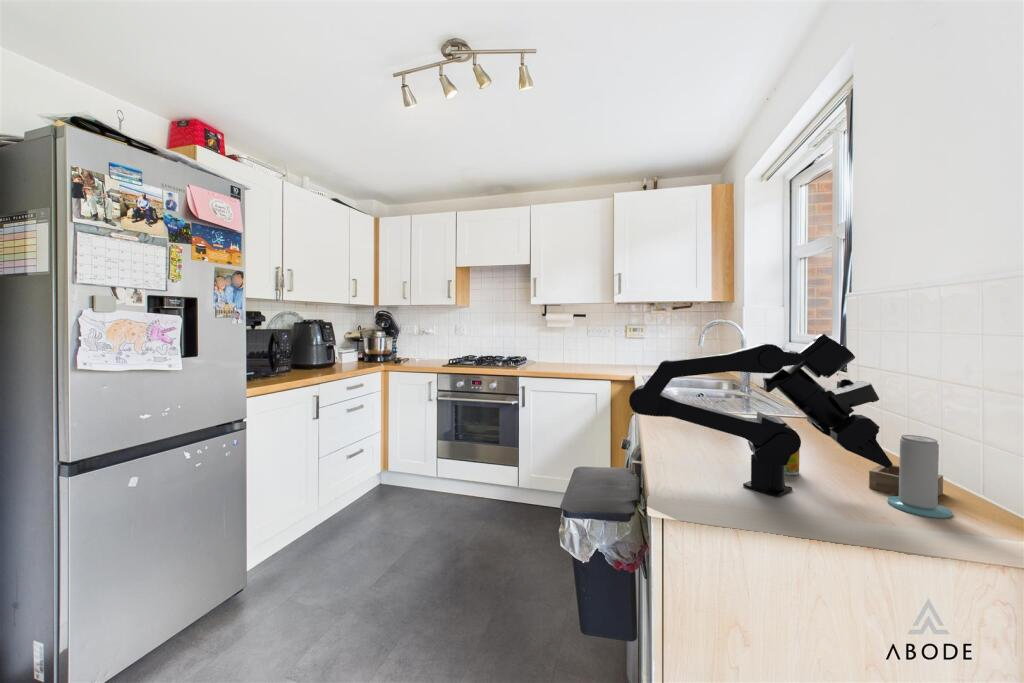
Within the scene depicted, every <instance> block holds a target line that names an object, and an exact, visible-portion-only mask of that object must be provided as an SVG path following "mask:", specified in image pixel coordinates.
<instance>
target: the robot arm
mask: <svg viewBox="0 0 1024 683" xmlns="http://www.w3.org/2000/svg"><path fill="white" fill-rule="evenodd" d="M855 359H856V356H855V355H854V354H853V352H852V351H851V350H850V349H848V347H846V346H845V345H843V344H840V343H839V342H837V341H836V340H834V339H833V338H830V337H829V336H827V335H826V334H825V333H823V334H822V333H819V334H818V335H816V336H815V338H814V339H813V340H812V341H811V342H809V344H807V345H806V346H804V347H803V348H802V349H801V350H800V351H798V352H797V351H793V350H789V351H785V350H783V349H782V348H781V347H779V346H778V345H776V344H774V343H773V344H772V343H757V344H754V345H751V346H748V347H744V348H741V349H738V350H733V351H730V352H727V353H720V354H712V355H704V356H695V357H689V358H682V359H681V358H680V359H673V360H672V359H665V360H663V361H661V362H660V363H659V365H658V367H657V369H656V370H655V371H654V372H653V374H652V375H651V376H650V377H649V378H648V380H647V381H646V382H645V384H641V385H639V386H637V387H636V388H635V389H633V391H632V392H631V393H630V396H629V398H628V402H629V404H628V405H629V406H630V408H631V409H632V412H634V413H635V414H638V415H642V416H649V417H666V418H673V419H674V418H675V419H677V420H680V421H685V422H688V423H691V424H694V425H698V426H702V427H705V428H709V429H711V430H712V429H713V430H715V431H718V432H723V433H726V434H729V435H733V436H736V437H739V438H743V439H745V440H747V444H748V447H749V449H750V451H751V452H752V454H751V456H750V480H749V481H746V482H743V483H742V486H743V487H744V488H749V489H751V490H754V491H757V492H760V493H764V494H766V495H770V496H773V497H780V496H783V495H785V494H788V493H789V492H791V491H793V487H792V486H789V485H786V481H785V480H786V478H785V477H786V476H785V466H786V465H787V463H788V461H789V459H790V457H791V455H792V454H795V453H796V452H797V451H798V450H799V451H800V449H799V448H801V444H802V439H801V436H800V435H799V434H798V432H797V430H796V429H795V430H796V431H795V430H793V429H794V428H793V429H792V427H791V426H790V425H789V424H788V423H786V421H785V420H783V419H782V418H781V417H780V416H772V415H771V416H769V415H767V414H765V413H762V412H760V411H757V412H756V417H744V416H740V415H737V414H732V413H728V412H725V411H722V410H718V409H714V408H711V407H707V406H704V405H700V404H697V403H693V402H689V401H684V400H682V399H677V398H675V397H672V396H671V395H669V394H668V393H666V392H663V391H664V389H665V388H666V387H667V385H669V383H670V382H671V381H672V380H673V379H674V378H684V377H694V376H703V375H710V374H711V375H712V374H721V373H729V372H735V373H736V372H738V373H749V374H750V373H751V374H752V373H753V374H774V373H775V374H774V375H773V376H771V377H763V378H762V381H763V385H762V386H763V387H762V389H763V391H765V392H766V393H771V392H772V391H773V390H775V389H777V391H779V392H780V393H781V394H782V395H783V396H785V397H786V398H787V400H789V401H790V402H791V403H792V404H793V405H794V406H795V407H796V408H797V410H799V411H800V412H802V413H803V414H804V415H805V416H807V417H806V421H807V422H808V423H809V424H810V425H811V426H812V427H813V428H814V429H815V430H817V431H818V432H820V433H821V434H823V435H825V436H827V437H829V438H831V439H832V440H833V441H834V442H835V443H836V444H837V445H839V446H840V447H842V449H844V450H846V451H847V452H850V453H852V454H855V455H857V456H859V457H862V458H863V459H867V460H868V461H870V462H873V463H875V464H877V465H878V466H880V465H881V466H884V467H886V468H889V467H890V466H892V465H894V464H893V462H892V461H891V459H890V458H889V457H888V455H887V453H886V452H885V451H884V450H883V448H882V447H881V445H880V443H879V442H878V440H877V435H878V434H879V432H880V426H879V425H878V424H877V423H876V422H875V421H874V420H872V419H871V418H869V417H867V416H865V415H863V414H853V413H854V412H855V409H854V407H857V406H861V405H864V404H867V403H875V402H876V403H877V402H878V401H879V400H880V397H879V395H878V394H877V392H876V390H875V388H874V387H873V384H872V383H871V382H866V381H863V380H861V381H858V380H857V381H855V382H853V381H852V380H850V379H849V378H843V379H839V380H837V381H836V387H835V388H834V389H833V390H831V389H827V388H825V387H823V386H822V385H821V384H820V383H819V382H817V381H816V380H815V379H814V378H812V376H814V377H815V378H817V379H819V378H821V377H823V378H827V379H829V378H831V377H832V376H833V375H835V374H836V373H837V372H839V371H840V370H842V369H843V368H844V367H846V366H847V365H849V364H850V363H851V362H853V361H854V360H855ZM790 366H791V367H790ZM784 367H790V368H788V369H787V370H786V369H783V368H784ZM802 368H804V369H805V370H806V371H807V372H806V371H805V370H803V369H802ZM808 373H809V374H808ZM810 374H811V375H812V376H810ZM850 414H851V415H850Z"/></svg>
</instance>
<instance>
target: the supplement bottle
mask: <svg viewBox="0 0 1024 683" xmlns="http://www.w3.org/2000/svg"><path fill="white" fill-rule="evenodd" d="M791 428H792V427H791ZM792 429H793V430H795V431H796V432H797V430H796V429H795V428H792ZM800 448H801V447H800ZM800 448H799V450H798V451H797V452H796V453H795V454H792V455H791V457H790V459H789V461H788V463H787V465H786V466H785V475H786V476H796V475H799V473H800Z"/></svg>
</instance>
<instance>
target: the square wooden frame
mask: <svg viewBox="0 0 1024 683" xmlns="http://www.w3.org/2000/svg"><path fill="white" fill-rule="evenodd" d="M868 472H869V473H868V474H869V477H868V483H869V484H868V487H869V489H873V490H877V491H880V492H884V493H888V494H890V495H891V494H892V495H894V496H899V465H895V464H893V465H892V466H890V467H889V468H886V467H884V466H881V465H878V466H875V467H874V468H872V469H870V470H868ZM943 493H944V475H943V474H939V473H938V496H939V497H940V496H941V495H943Z"/></svg>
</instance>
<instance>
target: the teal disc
mask: <svg viewBox="0 0 1024 683" xmlns="http://www.w3.org/2000/svg"><path fill="white" fill-rule="evenodd" d="M887 503H888V504H889V505H890V506H891V507H894V509H897V510H899V511H902V512H905V513H908V514H912V515H916V516H920V517H926V518H932V519H941V518H945V519H950V517H951V518H952V517H953V511H952V510H951V509H949V508H948V507H946V506H944V505H942V504H939V503H938V504H937V507H936V508H935V509H933V510H924V509H918V508H914V507H911V506H908V505H905V504H904V503H902V502H901V501H900V499H899V495H893V496H889V497H887Z"/></svg>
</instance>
